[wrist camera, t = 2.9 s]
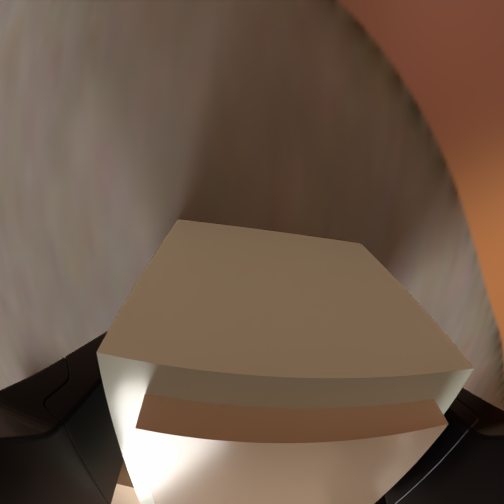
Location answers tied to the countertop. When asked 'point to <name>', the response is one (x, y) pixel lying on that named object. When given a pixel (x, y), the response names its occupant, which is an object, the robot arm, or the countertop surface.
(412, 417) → the cream lidded box
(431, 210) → the countertop surface
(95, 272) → the countertop surface
